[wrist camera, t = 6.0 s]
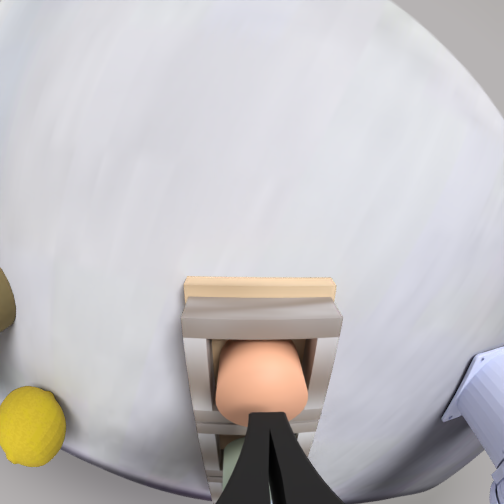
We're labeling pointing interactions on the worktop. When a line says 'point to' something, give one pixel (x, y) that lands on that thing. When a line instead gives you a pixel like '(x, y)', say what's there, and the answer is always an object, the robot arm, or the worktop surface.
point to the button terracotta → (260, 379)
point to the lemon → (31, 426)
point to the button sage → (232, 459)
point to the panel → (255, 328)
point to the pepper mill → (6, 303)
